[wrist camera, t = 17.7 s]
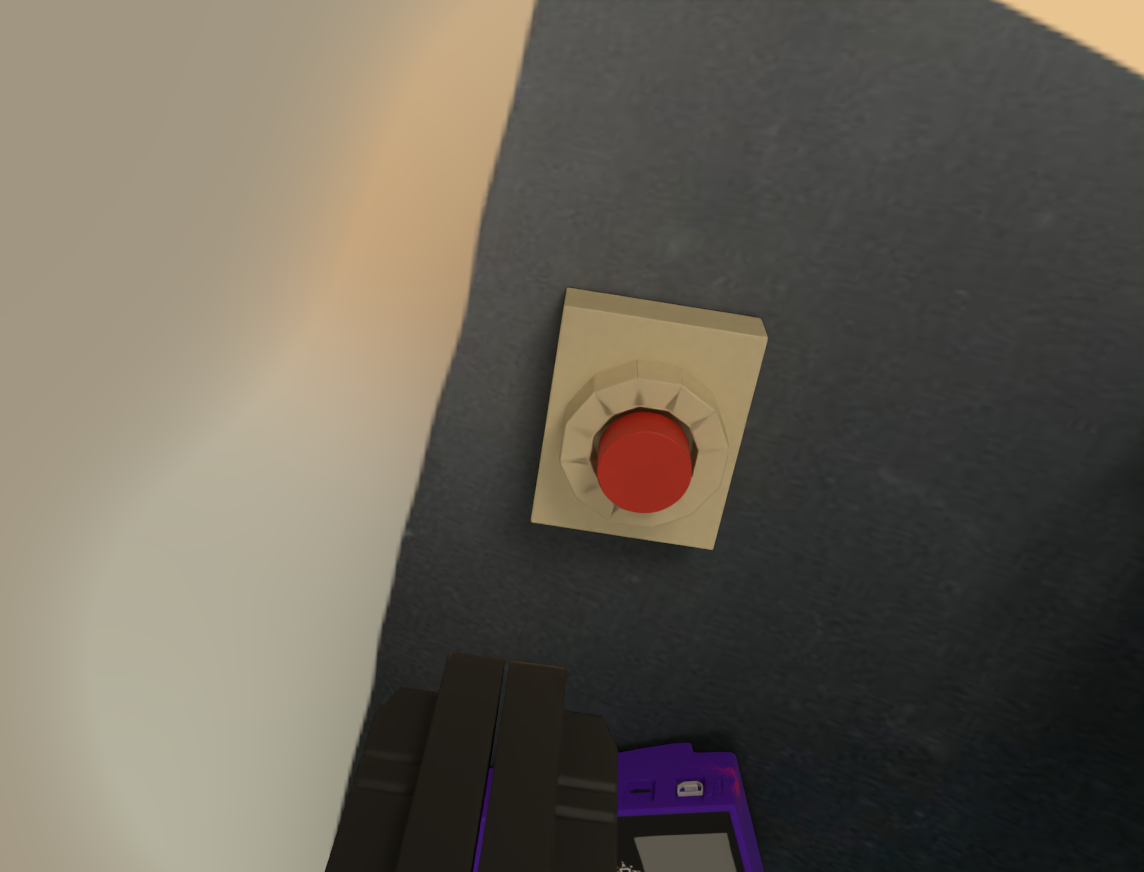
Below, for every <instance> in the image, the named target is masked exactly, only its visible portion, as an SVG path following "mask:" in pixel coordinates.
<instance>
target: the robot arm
mask: <svg viewBox="0 0 1144 872" xmlns="http://www.w3.org/2000/svg"><path fill="white" fill-rule="evenodd" d="M504 665H505V659H498V658H491V657H484V656H478V655H471V654H464V653H457V652H449V654H448V657H447V661H446V665H445V669H444V673H443V677H442V681H441V686H440V690H439V693H436V692H429V691H422V690H415V689H408V688H401V687H400V688H399V689H398V690H397V691H396V692H395V694H394V695H393V696H392V697H391V698H390V699H389V700H388V701H387V702H386V703H385V704H384V705H383V706H382V707H381V708H380V710H379V711H378V712H377V713H376V714H375V715H374V717H373V720H372V723H371V726H370V730H369V733H368V736H367V739H366V742H365V745H364V749H363V753H362V758H360V761H359V764H358V768H357V771H356V774H355V777H354V781H353V786H352V787H351V790H350V793H349V796H348V799H347V803H346V806H345V809H344V812H343V815H342V818H341V822H340V825H339V828H338V831H337V834H336V838H335V841H334V844H333V847H332V850H331V853H330V857H329V860H328V863H327V866H326V869H325V872H473V869H474V863H475V857H476V850H477V844H478V838H479V832H480V825H481V819H482V813H483V807H484V800H485V794H486V788H487V781H488V775H489V768H490V762H491V755H492V748H493V741H494V734H495V728H496V721H497V714H498V707H499V700H500V693H501V686H502V679H503V672H504ZM565 681H566V668H563V667H556V666H549V665H542V664H535V663H528V662H521V661H514V660H510V666H509V672H508V678H507V685H506V691H505V698H504V704H503V711H502V717H501V724H500V730H499V737H498V743H497V750H496V756H495V762H494V769H493V775H492V782H491V788H490V795H489V801H488V808H487V814H486V821H485V827H484V834H483V840H482V846H481V853H480V859H479V866H478V872H617V829H618V824H617V817H618V794H617V789H618V749H617V746H616V744H615V742H614V740H613V738H612V736H611V734H610V732H609V730H608V728H607V725H606V723H605V721H604V719H603V717H602V716H599V715H592V714H585V713H578V712H571V711H564V710H563V706H564V694H565Z"/></svg>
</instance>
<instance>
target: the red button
mask: <svg viewBox="0 0 1144 872" xmlns="http://www.w3.org/2000/svg"><path fill="white" fill-rule="evenodd" d="M691 476H692V466H691V458H690V450H689V444H688V440H687V438H686V436H685V434H684V432H683V431H682V429H681V428H680V427H679V426H678V425H677V424H676V423H675V422H674V421H672V420H671V419H669V418H667V417H665V416H663V415H660V414H657V413H652V412H636V413H631V414H628V415H625V416H623V417H621V418H619V419H617V420H616V421H614V422H613V423H612V424H611V425H610V426H609V427H608V428H607V429H606V430H605V432H604V433H603V435H602V437H601V440H600V443H599V447H598V462H597V477H598V482H599V485H600V487H601V489H602V491H603V493H604V494H605V495H606V497H607V498H608V499H609V500H610V501H611V502H613V503H614V504H615V505H617V506H618V507H620V508H622V509H624V510H627V511H630V512H635V513H653V512H658V511H661V510H664V509H666V508H668V507H670V506H672V505H673V504H675V503H676V502H677V501H678V500H679V499H680V498H681V497H682V496H683V495H684V494H685V492H686V491H687V489H688V487H689V484H690V481H691Z"/></svg>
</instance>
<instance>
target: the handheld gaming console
mask: <svg viewBox="0 0 1144 872" xmlns="http://www.w3.org/2000/svg"><path fill="white" fill-rule="evenodd" d="M493 769H494V767H493V768H489V775H488V781H487V788H486V794H485V800H484V807H483V813H482V819H481V825H480V832H479V838H478V844H477V850H476V857H475V863H474V869H473V872H478V866H479V859H480V853H481V846H482V840H483V834H484V827H485V821H486V814H487V808H488V801H489V795H490V788H491V782H492V775H493ZM617 794H618V817H617V824H618V829H617V872H764V870H763V866H762V862H761V858H760V854H759V850H758V845H757V841H756V837H755V833H754V829H753V825H752V821H751V817H750V812H749V808H748V804H747V800H746V796H745V792H744V788H743V783H742V779H741V775H740V771H739V767H738V763H737V759H736V755H734V754H733V753H730V752H703V753H696V752H693V749H692V745H691V744H690V743H673V744H666V745H660V746H654V747H648V748H642V749H636V750H631V751H625V752H620V753H618V789H617Z"/></svg>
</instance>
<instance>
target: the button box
mask: <svg viewBox="0 0 1144 872" xmlns="http://www.w3.org/2000/svg"><path fill="white" fill-rule="evenodd" d="M767 340H768V337H767V334H766V331H765V328H764V326H763V323H762V320H761V318H756V317H750V316H744V315H737V314H731V313H725V312H718V311H712V310H706V309H700V308H693V307H687V306H681V305H675V304H668V303H662V302H656V301H649V300H643V299H637V298H631V297H624V296H618V295H612V294H605V293H599V292H593V291H587V290H580V289H574V288H567V289H566V296H565V302H564V308H563V314H562V321H561V327H560V334H559V340H558V347H557V353H556V360H555V366H554V373H553V379H552V386H551V392H550V399H549V405H548V412H547V419H546V425H545V432H544V438H543V445H542V451H541V458H540V464H539V471H538V477H537V484H536V490H535V497H534V503H533V510H532V516H531V522H533V523H539V524H546V525H553V526H559V527H566V528H572V529H579V530H585V531H592V532H598V533H605V534H611V535H618V536H625V537H631V538H638V539H644V540H651V541H657V542H664V543H670V544H677V545H683V546H690V547H697V548H703V549H710V550H713V547H714V544H715V540H716V536H717V532H718V528H719V524H720V521H721V517H722V513H723V509H724V505H725V501H726V498H727V494H728V490H729V486H730V482H731V478H732V475H733V471H734V467H735V463H736V459H737V455H738V451H739V448H740V444H741V440H742V436H743V432H744V428H745V425H746V421H747V417H748V413H749V409H750V405H751V402H752V398H753V394H754V390H755V386H756V382H757V379H758V375H759V371H760V367H761V363H762V359H763V355H764V352H765V348H766V344H767ZM636 412H652V413H657V414H660V415H663V416H665V417H667V418H669V419H671V420H672V421H674V422H675V423H676V424H677V425H678V426H679V427H680V428H681V429H682V431H683V432H684V434H685V436H686V438H687V440H688V444H689V450H690V458H691V466H692V476H691V481H690V484H689V487H688V489H687V491H686V492H685V494H684V495H683V496H682V497H681V498H680V499H679V500H678V501H677V502H676V503H675V504H673V505H672V506H670V507H668V508H666V509H664V510H661V511H658V512H653V513H635V512H630V511H627V510H624V509H622V508H620V507H618V506H617V505H615V504H614V503H613V502H611V501H610V500H609V499H608V498H607V497H606V495H605V494H604V493H603V491H602V489H601V487H600V485H599V482H598V477H597V462H598V447H599V443H600V440H601V437H602V435H603V433H604V432H605V430H606V429H607V428H608V427H609V426H610V425H611V424H612V423H613V422H614V421H616V420H617V419H619V418H621V417H623V416H625V415H628V414H631V413H636Z"/></svg>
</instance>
